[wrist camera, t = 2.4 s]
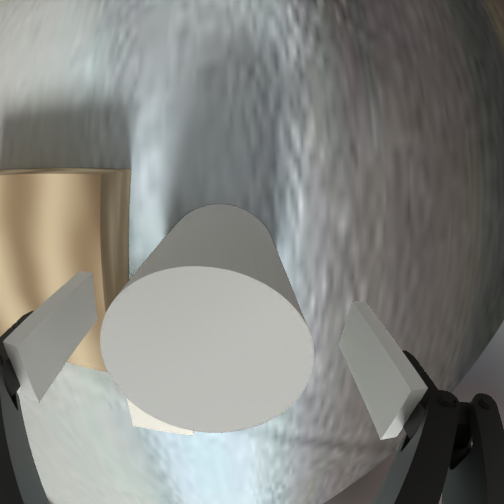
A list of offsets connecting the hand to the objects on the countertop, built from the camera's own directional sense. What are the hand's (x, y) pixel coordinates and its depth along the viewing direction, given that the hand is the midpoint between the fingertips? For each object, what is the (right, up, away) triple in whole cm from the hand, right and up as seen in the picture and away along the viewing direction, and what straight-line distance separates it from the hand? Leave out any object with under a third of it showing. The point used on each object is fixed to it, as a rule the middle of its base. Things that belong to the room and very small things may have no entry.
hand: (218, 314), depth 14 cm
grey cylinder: (-1, +2, +8) cm, 8 cm away
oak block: (-15, +3, +7) cm, 16 cm away
